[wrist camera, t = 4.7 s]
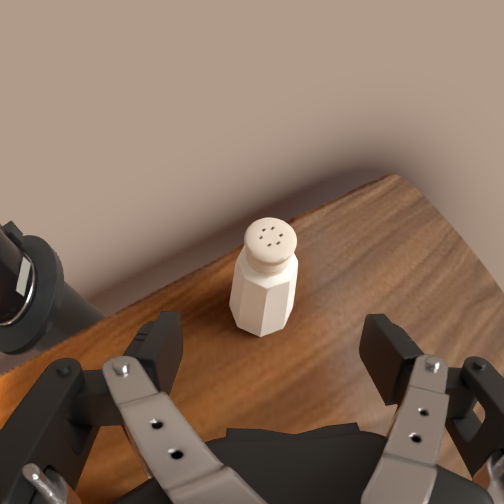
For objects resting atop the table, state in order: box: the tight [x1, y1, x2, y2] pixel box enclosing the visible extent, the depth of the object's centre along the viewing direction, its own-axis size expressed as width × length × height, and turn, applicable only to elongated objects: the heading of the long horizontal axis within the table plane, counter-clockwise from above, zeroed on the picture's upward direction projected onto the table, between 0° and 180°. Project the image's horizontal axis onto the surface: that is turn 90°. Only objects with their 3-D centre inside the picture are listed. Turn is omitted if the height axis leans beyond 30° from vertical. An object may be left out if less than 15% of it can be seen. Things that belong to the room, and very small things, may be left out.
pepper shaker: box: [229, 218, 298, 337], centre depth 20 cm, size 5×5×11 cm
